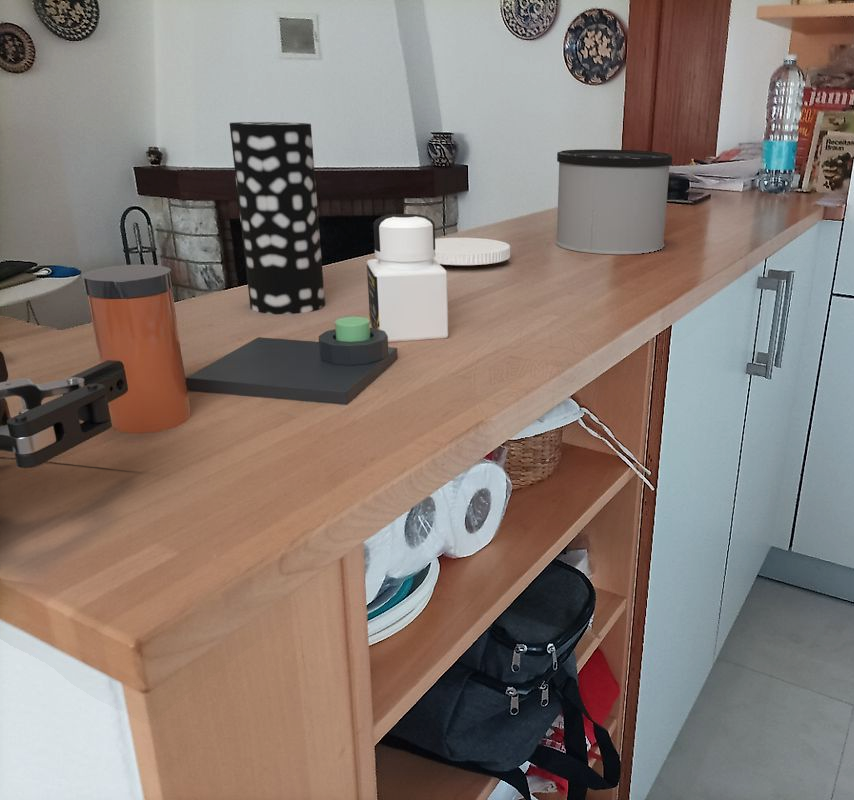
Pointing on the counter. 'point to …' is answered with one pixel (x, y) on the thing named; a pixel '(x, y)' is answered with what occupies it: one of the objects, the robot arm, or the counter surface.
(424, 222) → the medicine bottle
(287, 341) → the scale
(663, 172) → the container
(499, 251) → the plastic lid
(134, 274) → the spice jar
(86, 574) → the counter surface
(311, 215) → the spotted tube
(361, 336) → the button
